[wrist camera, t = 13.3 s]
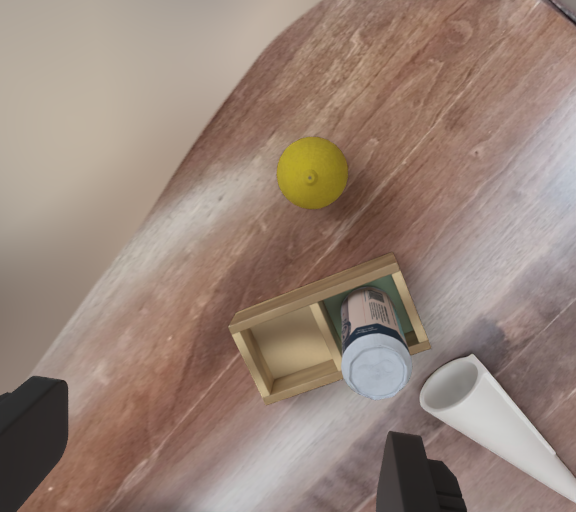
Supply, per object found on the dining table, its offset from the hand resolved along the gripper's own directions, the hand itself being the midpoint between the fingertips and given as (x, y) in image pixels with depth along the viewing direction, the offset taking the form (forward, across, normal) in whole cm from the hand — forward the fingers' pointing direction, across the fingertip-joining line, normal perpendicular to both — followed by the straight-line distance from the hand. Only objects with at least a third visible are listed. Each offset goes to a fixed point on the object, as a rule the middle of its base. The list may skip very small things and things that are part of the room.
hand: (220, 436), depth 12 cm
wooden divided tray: (+33, -3, +10) cm, 35 cm away
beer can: (+32, -6, +8) cm, 34 cm away
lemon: (+33, 0, -4) cm, 34 cm away
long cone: (+33, -21, +19) cm, 44 cm away
